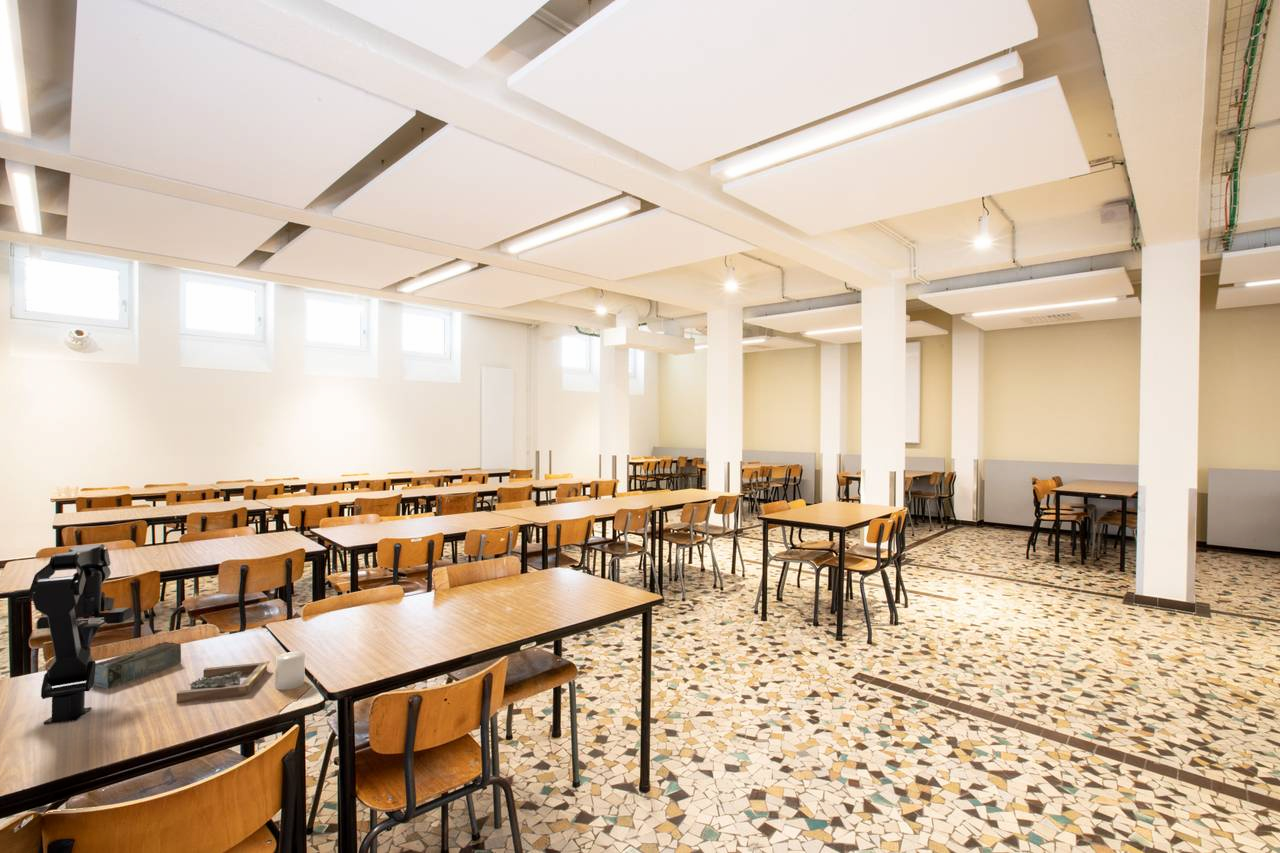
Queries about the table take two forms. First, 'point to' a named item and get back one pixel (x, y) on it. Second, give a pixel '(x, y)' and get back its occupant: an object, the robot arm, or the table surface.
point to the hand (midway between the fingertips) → (85, 649)
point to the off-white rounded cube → (290, 670)
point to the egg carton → (217, 681)
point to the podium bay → (225, 691)
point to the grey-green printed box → (137, 664)
